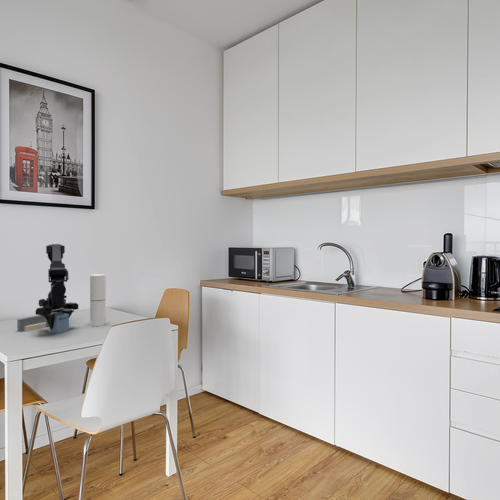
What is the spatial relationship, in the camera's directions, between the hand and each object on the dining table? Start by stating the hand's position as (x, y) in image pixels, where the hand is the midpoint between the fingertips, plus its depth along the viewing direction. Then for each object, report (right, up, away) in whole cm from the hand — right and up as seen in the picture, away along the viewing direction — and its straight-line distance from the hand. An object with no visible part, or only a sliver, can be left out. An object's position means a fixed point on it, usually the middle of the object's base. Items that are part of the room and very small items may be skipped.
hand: (57, 327), depth 181 cm
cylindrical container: (+13, -2, +15) cm, 20 cm away
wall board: (-14, -2, +9) cm, 16 cm away
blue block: (0, -2, 0) cm, 2 cm away
